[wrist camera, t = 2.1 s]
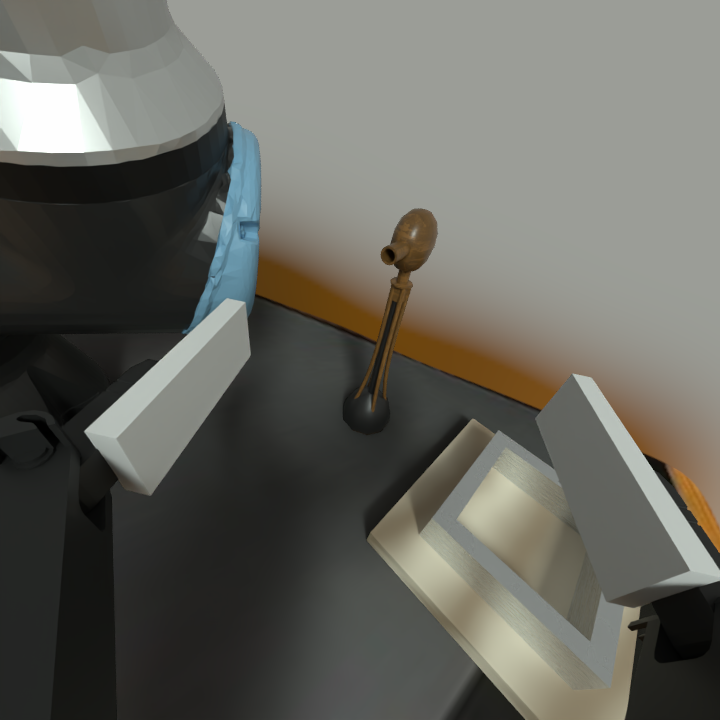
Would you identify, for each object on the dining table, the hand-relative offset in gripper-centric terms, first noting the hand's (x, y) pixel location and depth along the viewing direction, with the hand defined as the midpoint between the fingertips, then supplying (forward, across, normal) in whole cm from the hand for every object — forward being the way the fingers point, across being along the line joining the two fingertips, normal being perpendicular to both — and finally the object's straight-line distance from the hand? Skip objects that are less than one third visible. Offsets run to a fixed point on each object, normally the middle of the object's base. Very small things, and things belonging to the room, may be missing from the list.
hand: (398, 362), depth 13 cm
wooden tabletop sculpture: (+10, 0, -16) cm, 20 cm away
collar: (+1, +13, -15) cm, 20 cm away
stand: (+1, +13, -17) cm, 21 cm away
